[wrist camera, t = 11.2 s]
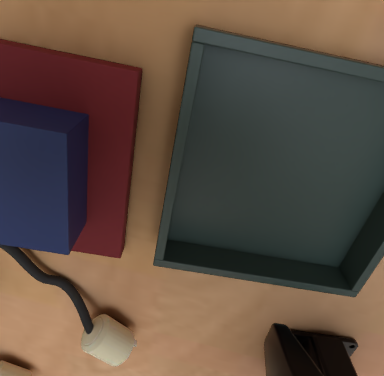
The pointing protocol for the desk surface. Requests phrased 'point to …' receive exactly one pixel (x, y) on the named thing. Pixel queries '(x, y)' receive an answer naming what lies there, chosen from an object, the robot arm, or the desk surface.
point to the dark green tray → (276, 166)
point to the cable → (93, 329)
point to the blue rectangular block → (42, 176)
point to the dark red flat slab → (98, 126)
